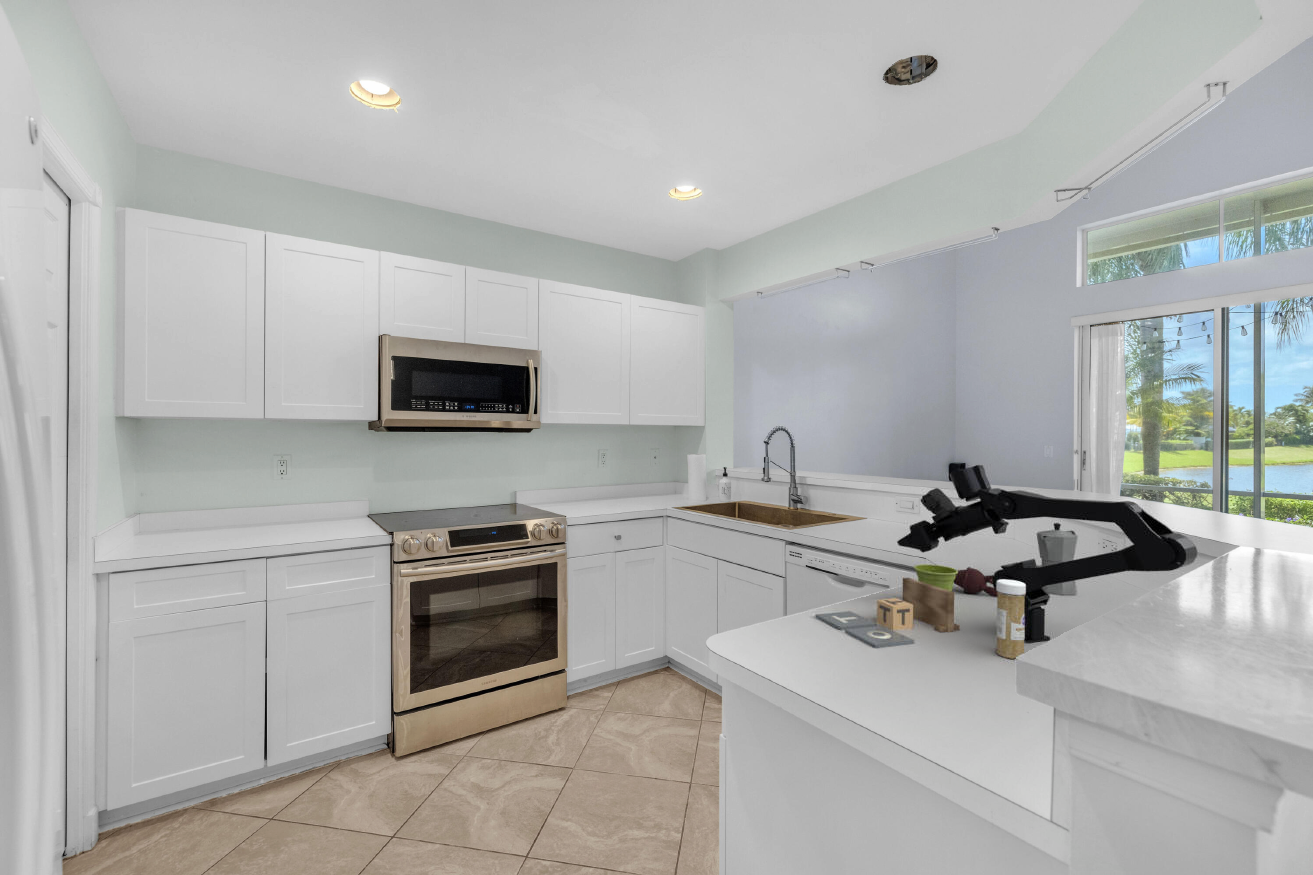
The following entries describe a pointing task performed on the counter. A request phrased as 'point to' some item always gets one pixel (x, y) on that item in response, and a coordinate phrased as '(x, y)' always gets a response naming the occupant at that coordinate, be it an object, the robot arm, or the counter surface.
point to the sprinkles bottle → (1010, 618)
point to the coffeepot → (1058, 555)
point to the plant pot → (936, 575)
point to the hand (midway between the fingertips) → (908, 538)
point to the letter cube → (895, 614)
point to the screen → (930, 604)
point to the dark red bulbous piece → (974, 581)
